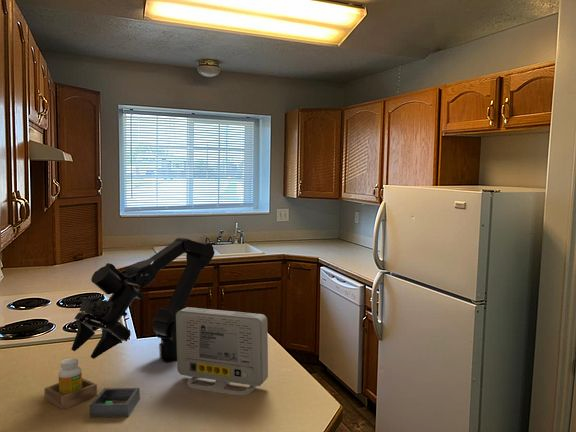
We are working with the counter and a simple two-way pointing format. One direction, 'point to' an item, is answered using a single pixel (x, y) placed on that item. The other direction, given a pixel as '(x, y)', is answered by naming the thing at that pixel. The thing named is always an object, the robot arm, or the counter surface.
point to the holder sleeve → (70, 394)
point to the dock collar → (107, 408)
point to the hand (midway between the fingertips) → (82, 354)
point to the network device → (222, 348)
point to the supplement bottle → (70, 376)
